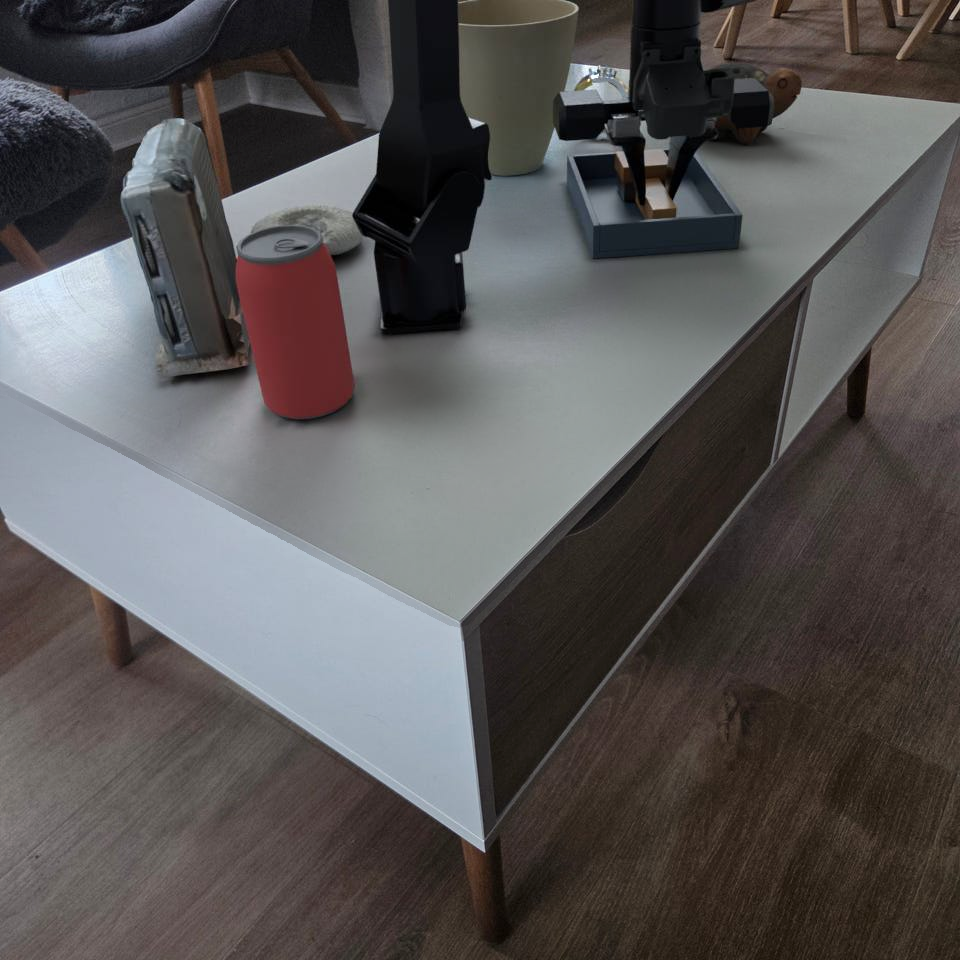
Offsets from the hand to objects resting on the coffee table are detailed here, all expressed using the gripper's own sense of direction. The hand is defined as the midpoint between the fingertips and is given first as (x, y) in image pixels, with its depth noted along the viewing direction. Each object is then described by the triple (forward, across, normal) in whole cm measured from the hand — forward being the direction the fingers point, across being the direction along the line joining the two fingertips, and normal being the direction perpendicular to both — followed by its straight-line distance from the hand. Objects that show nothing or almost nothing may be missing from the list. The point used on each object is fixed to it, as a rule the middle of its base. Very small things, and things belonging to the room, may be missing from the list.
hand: (655, 203), depth 87 cm
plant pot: (+2, -12, +20) cm, 23 cm away
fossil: (+2, -33, 0) cm, 33 cm away
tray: (+2, 0, +3) cm, 4 cm away
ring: (+2, -1, +27) cm, 27 cm away
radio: (+2, -41, -12) cm, 43 cm away
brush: (+1, 0, +2) cm, 3 cm away
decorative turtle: (+2, +14, +25) cm, 28 cm away
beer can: (+2, -30, -27) cm, 41 cm away
